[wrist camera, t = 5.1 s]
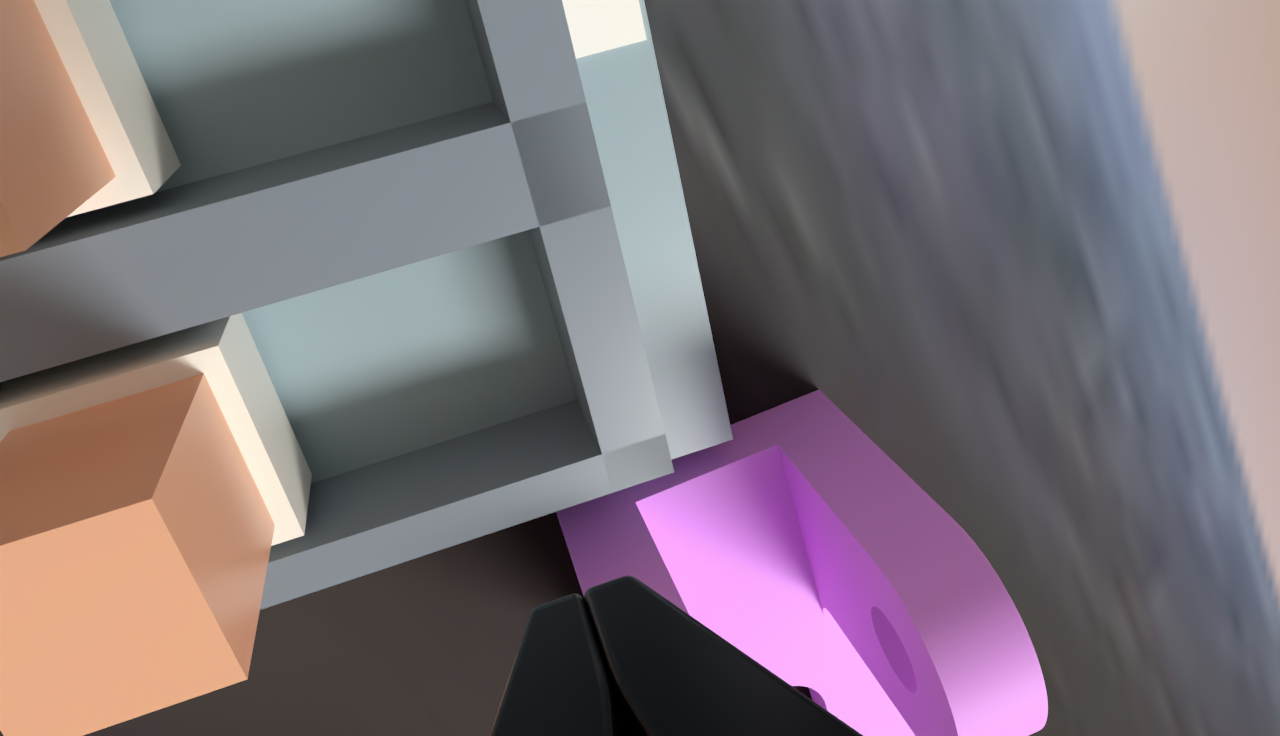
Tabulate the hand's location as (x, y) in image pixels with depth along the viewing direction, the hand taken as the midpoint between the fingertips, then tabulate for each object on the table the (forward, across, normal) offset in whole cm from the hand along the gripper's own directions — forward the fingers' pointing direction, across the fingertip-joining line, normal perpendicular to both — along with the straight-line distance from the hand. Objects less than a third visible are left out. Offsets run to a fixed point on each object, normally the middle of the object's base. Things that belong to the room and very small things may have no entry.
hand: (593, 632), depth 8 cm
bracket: (+10, -3, +11) cm, 15 cm away
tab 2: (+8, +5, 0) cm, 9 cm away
